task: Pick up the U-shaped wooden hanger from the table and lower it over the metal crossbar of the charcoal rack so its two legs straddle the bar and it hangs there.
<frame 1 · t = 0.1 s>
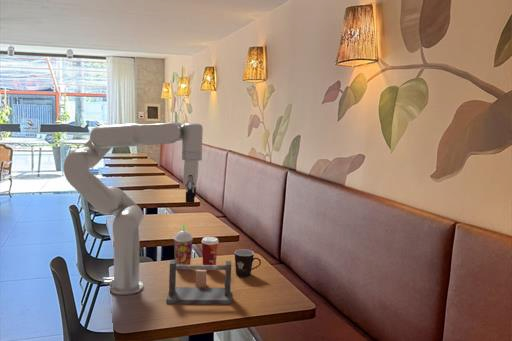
hand: (190, 199, 166), 37 cm above the table, tool pointing down, fingers open, 9 cm apart
rack: (199, 297, 165), on the table
paper cup: (209, 269, 194), on the table
hanger: (200, 286, 175), on the table
smoothie: (182, 267, 194), on the table
coffee mug: (245, 275, 189), on the table
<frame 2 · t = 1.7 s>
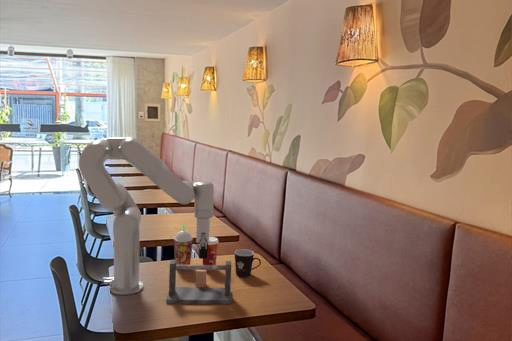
hand: (203, 254, 173), 14 cm above the table, tool pointing down, fingers open, 9 cm apart
nothing on the table moved.
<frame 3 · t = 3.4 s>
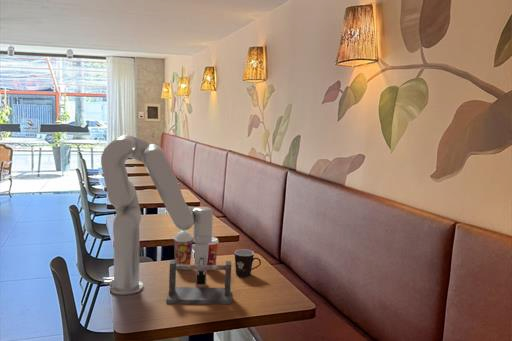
hand: (201, 280, 175), 3 cm above the table, tool pointing down, fingers closed on hanger, 5 cm apart
hanger: (200, 286, 175), on the table, touching gripper
everything else where it was.
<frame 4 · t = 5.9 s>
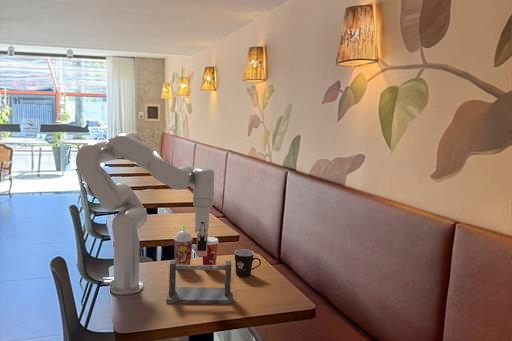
hand: (201, 247, 164), 20 cm above the table, tool pointing down, fingers closed on hanger, 5 cm apart
hanger: (201, 253, 164), point 17 cm above the table, touching gripper
everything else where it was.
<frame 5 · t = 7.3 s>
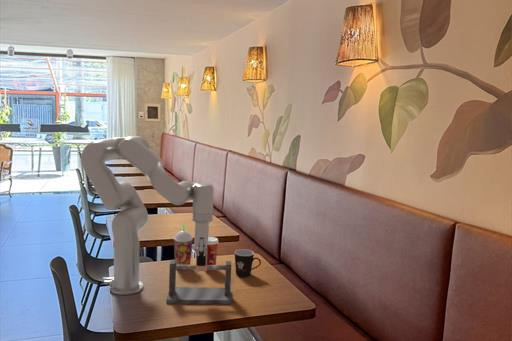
hand: (201, 262, 163), 14 cm above the table, tool pointing down, fingers closed on hanger, 5 cm apart
hanger: (201, 268, 164), point 12 cm above the table, touching gripper
everything else where it was.
when the fingers open (11 cm above the table, at t = 8.5 s): hanger drops 1 cm, resting on rack.
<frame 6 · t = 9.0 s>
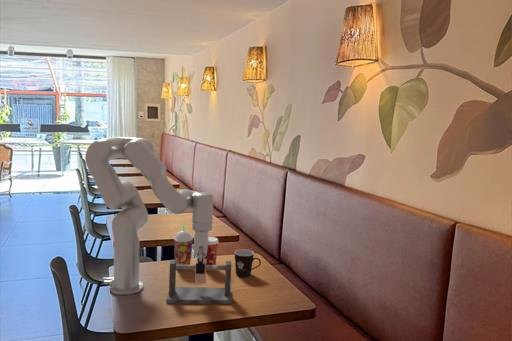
hand: (200, 268, 164), 11 cm above the table, tool pointing down, fingers open, 9 cm apart
hanger: (200, 280, 164), point 7 cm above the table, touching rack
everything else where it was.
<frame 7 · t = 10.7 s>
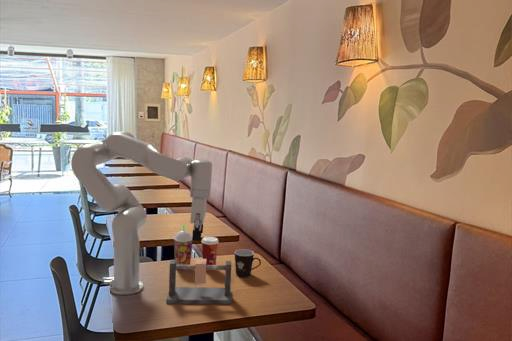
hand: (197, 236, 164), 23 cm above the table, tool pointing down, fingers open, 9 cm apart
nothing on the table moved.
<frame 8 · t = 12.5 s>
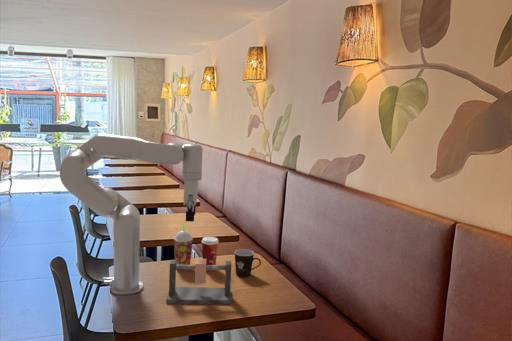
hand: (190, 217, 171), 28 cm above the table, tool pointing down, fingers open, 9 cm apart
nothing on the table moved.
at the end: hanger 0.0 cm off-centre on the rack, point 6.9 cm above the rack's base; hanger tilted 0°; the gripper is holding nothing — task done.
